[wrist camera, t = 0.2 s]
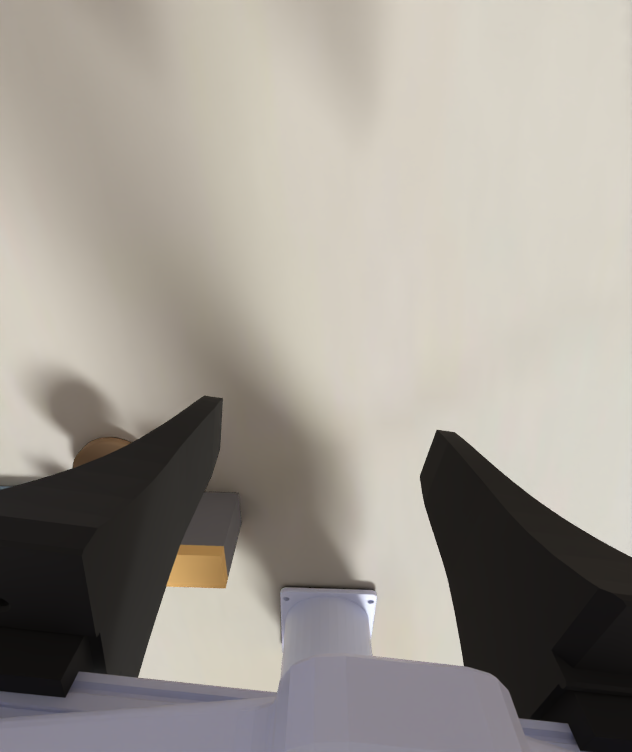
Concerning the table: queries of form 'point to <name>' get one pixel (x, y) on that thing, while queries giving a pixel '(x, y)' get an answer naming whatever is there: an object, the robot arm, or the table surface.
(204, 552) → the orange and grey block
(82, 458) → the bobbin
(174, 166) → the table surface
